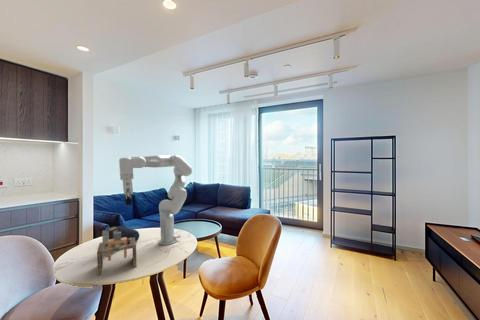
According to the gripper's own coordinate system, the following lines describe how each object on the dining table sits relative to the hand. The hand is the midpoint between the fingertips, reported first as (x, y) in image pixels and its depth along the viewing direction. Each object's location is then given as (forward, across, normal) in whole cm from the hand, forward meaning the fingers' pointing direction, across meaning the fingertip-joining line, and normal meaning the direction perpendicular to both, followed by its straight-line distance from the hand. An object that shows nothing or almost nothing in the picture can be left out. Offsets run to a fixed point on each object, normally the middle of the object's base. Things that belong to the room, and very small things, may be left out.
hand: (128, 203), depth 141 cm
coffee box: (+34, +11, +11) cm, 38 cm away
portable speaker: (+35, +29, +2) cm, 45 cm away
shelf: (+34, -12, +8) cm, 37 cm away
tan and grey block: (+29, -12, +8) cm, 32 cm away
